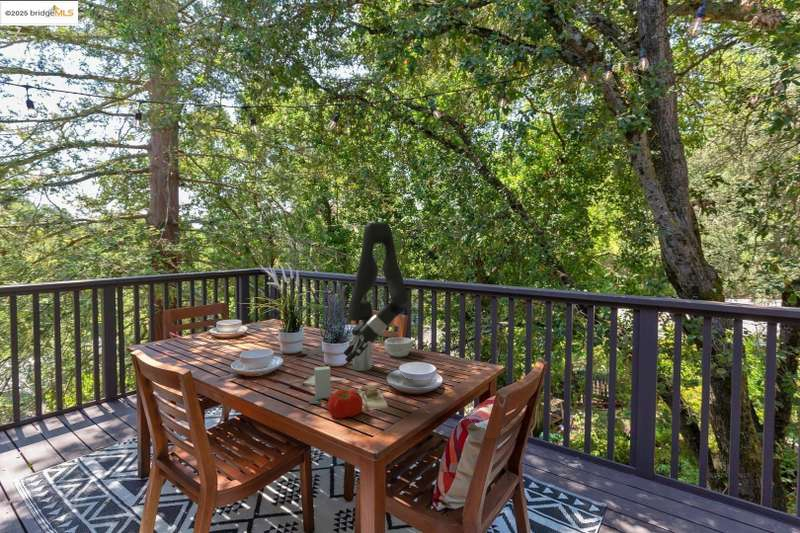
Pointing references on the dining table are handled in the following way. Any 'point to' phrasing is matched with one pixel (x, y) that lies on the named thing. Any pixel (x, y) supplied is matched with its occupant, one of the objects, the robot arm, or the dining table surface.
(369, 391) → the offcut top
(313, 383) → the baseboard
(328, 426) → the dining table surface
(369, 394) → the offcut low
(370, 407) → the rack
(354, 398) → the tomato
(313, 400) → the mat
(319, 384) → the pale green block
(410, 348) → the paper bowls
